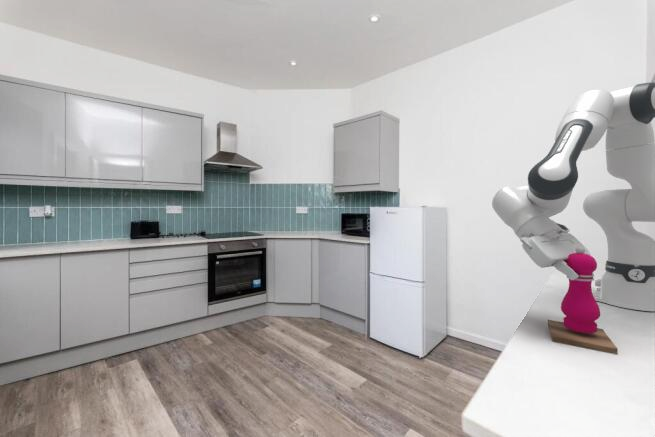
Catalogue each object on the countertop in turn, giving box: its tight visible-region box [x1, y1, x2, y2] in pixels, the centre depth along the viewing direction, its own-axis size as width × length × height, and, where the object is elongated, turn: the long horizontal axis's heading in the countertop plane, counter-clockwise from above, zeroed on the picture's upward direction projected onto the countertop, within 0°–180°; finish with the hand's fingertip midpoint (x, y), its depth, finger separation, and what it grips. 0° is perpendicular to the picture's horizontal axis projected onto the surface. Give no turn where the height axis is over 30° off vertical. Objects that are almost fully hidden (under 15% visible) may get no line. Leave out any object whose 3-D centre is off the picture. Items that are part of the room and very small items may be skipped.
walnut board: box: [547, 319, 618, 355], centre depth 70 cm, size 13×11×1 cm
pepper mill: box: [560, 247, 601, 333], centre depth 70 cm, size 7×7×20 cm
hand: (583, 277), depth 69 cm, fingers closed on pepper mill, 5 cm apart
